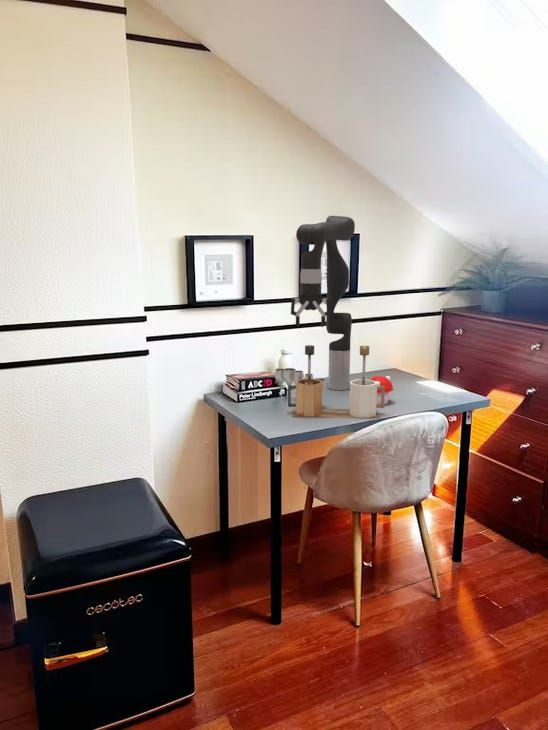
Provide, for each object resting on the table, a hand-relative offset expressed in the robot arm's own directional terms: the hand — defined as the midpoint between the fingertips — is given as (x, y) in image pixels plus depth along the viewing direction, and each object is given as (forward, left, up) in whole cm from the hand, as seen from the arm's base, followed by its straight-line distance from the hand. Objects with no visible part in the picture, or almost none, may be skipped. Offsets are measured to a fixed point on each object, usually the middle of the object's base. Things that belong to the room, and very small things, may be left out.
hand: (310, 326), depth 223 cm
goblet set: (-17, -4, -34) cm, 38 cm away
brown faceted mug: (0, -2, -33) cm, 33 cm away
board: (0, +10, -34) cm, 35 cm away
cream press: (0, +21, -33) cm, 39 cm away
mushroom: (-16, +28, -34) cm, 47 cm away
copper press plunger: (0, 0, -24) cm, 24 cm away
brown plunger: (0, +20, -24) cm, 31 cm away
